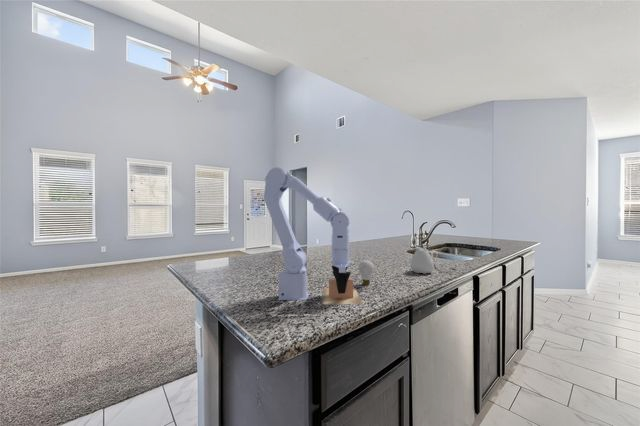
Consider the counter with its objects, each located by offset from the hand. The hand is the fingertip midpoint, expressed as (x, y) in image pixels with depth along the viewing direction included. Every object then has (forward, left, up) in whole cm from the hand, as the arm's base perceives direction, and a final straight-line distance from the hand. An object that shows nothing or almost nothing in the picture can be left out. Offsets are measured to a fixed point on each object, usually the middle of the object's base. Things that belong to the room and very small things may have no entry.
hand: (340, 289), depth 89 cm
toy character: (+41, +37, -3) cm, 55 cm away
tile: (0, 0, -3) cm, 3 cm away
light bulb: (+11, +15, -3) cm, 19 cm away
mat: (0, +2, -3) cm, 4 cm away
